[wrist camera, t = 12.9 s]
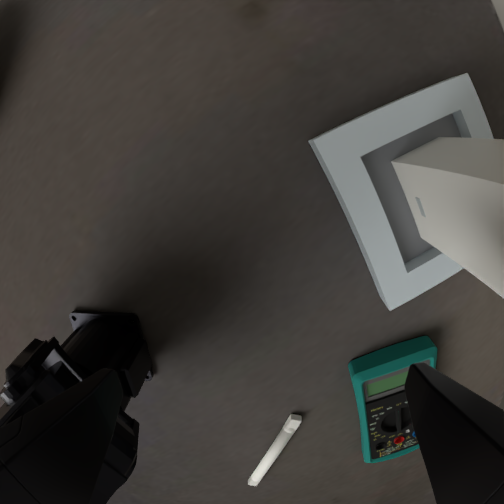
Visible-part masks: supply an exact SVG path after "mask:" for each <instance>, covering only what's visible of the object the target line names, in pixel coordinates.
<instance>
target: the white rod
mask: <svg viewBox="0 0 504 504" xmlns="http://www.w3.org/2000/svg"><path fill="white" fill-rule="evenodd" d="M301 421H302V419H301V416H300V415H295V414H290V416H289V418H288V419H287V421H286V423H285V424H284V426H283V428H282V429H281V431H280V432H279V434H278V436H277V437H276V439H275V440H274V442H273V444H272V445H271V447H270V448H269V450H268V451H267V453H266V454H265V456H264V457H263V459H262V460H261V462H260V463H259V465H258V466H257V468H256V469H255V471H254V472H253V474H252V475H251V477H250V478H249V479H248V485H253V486H256V485H257V484H258V483H259V482H260V480H261V479H262V477H263V476H264V475H265V473H266V472H267V471H268V469H269V468H270V467H271V465H272V464H273V462H274V461H275V460H276V458H277V457H278V455H279V454H280V453H281V451H282V450H283V448H284V447H285V445H286V444H287V442H288V441H289V440H290V438H291V437H292V435H293V434H294V432H295V431H296V429H297V428H298V426H299V425H300V423H301Z"/></svg>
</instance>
